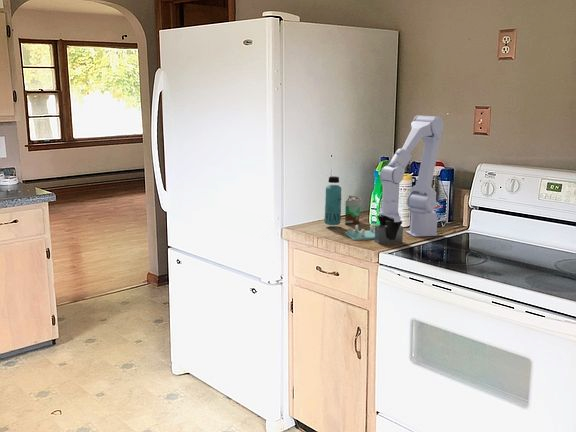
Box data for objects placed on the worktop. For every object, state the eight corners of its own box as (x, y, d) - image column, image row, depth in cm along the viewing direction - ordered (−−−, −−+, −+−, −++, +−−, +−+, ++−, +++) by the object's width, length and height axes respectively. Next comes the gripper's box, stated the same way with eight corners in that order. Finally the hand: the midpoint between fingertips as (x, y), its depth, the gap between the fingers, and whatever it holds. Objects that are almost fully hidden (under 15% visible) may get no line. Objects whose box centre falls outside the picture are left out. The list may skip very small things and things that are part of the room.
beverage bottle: (322, 228, 238) (324, 177, 234) (325, 224, 244) (326, 175, 240) (339, 229, 237) (341, 178, 232) (341, 225, 243) (343, 175, 239)
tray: (379, 231, 234) (380, 223, 233) (390, 238, 224) (390, 229, 223) (344, 233, 230) (345, 224, 230) (353, 240, 221) (354, 231, 220)
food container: (360, 226, 242) (361, 201, 240) (344, 225, 243) (345, 200, 241) (362, 219, 254) (363, 195, 252) (348, 218, 255) (348, 195, 253)
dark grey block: (397, 240, 222) (398, 224, 221) (402, 243, 218) (403, 226, 217) (374, 241, 220) (375, 225, 219) (378, 244, 216) (379, 227, 215)
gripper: (372, 196, 222) (370, 232, 225) (387, 204, 208) (385, 243, 211) (390, 195, 223) (388, 232, 226) (406, 203, 210) (404, 242, 213)
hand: (388, 237), depth 219 cm, fingers open, 6 cm apart
